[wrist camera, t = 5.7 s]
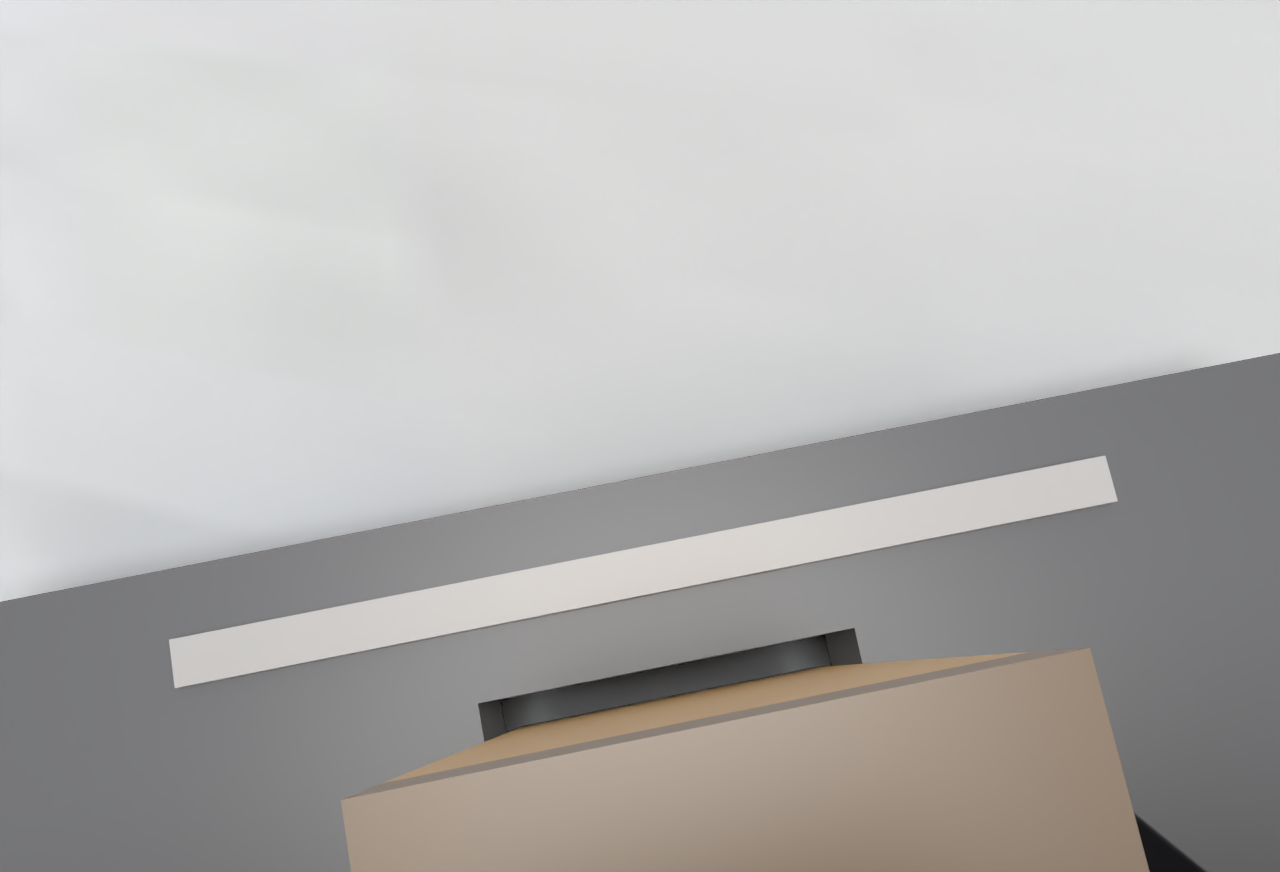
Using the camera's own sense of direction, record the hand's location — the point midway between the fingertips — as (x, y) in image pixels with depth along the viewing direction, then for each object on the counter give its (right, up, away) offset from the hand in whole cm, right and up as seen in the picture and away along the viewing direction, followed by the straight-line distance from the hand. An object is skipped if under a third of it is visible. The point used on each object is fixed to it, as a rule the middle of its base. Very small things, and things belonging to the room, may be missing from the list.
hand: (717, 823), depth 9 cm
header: (0, -3, +8) cm, 8 cm away
